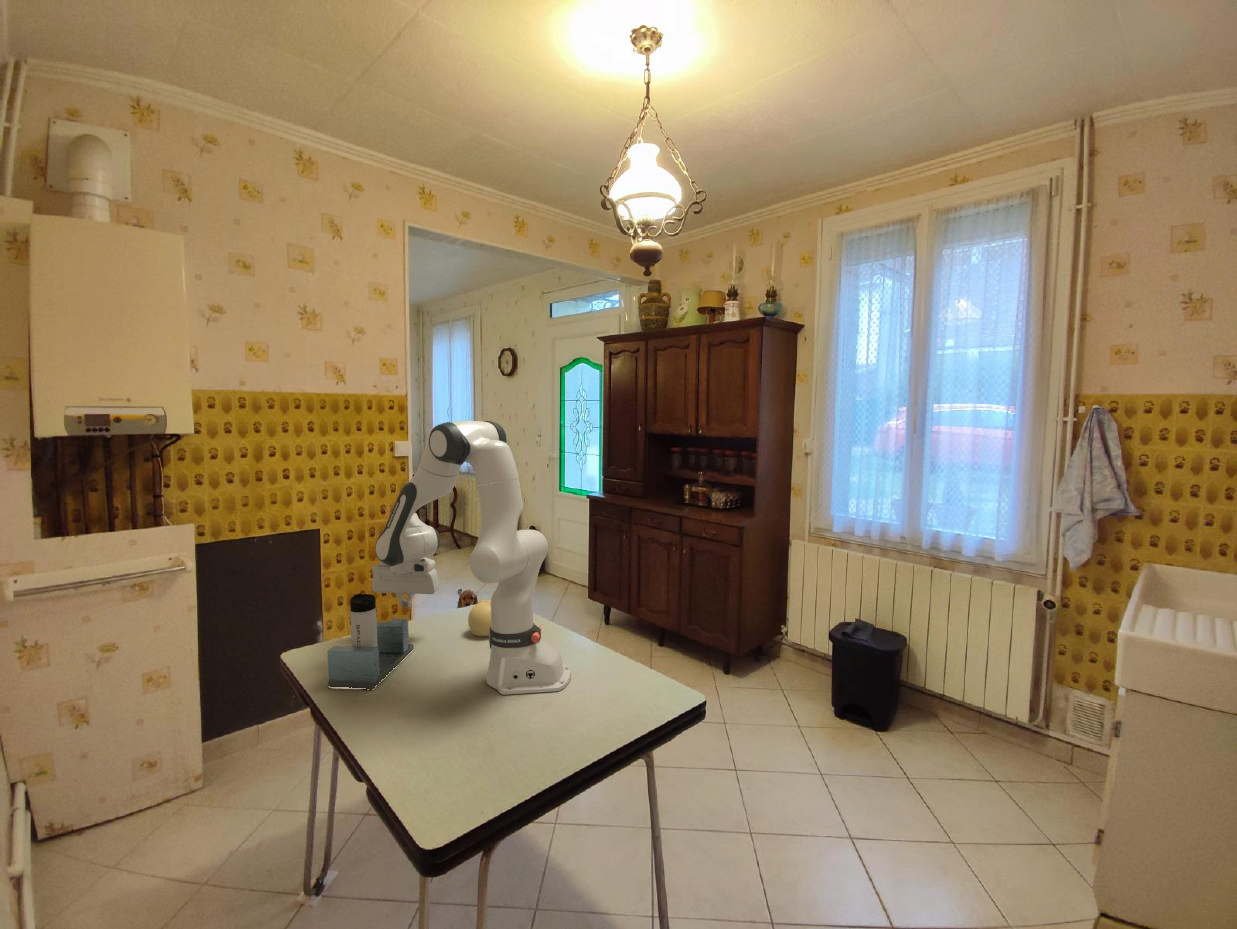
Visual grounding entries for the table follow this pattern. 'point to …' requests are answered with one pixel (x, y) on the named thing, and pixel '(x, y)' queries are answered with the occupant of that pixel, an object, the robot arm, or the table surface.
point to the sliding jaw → (393, 636)
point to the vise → (361, 665)
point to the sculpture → (480, 618)
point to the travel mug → (363, 620)
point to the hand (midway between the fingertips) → (405, 606)
